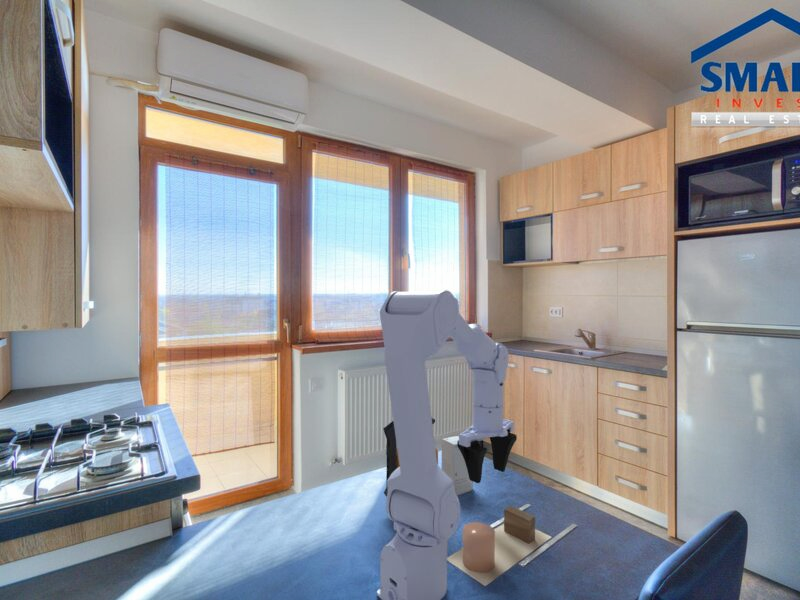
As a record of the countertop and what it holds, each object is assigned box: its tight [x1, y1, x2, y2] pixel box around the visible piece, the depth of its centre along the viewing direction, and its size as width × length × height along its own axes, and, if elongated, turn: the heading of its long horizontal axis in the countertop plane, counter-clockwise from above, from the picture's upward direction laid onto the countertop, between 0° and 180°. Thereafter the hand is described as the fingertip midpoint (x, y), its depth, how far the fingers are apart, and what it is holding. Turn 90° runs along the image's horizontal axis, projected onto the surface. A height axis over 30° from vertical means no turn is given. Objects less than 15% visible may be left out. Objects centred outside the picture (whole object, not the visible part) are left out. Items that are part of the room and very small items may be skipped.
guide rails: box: [489, 503, 578, 568], centre depth 72 cm, size 18×10×1 cm, turn 130°
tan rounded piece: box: [462, 521, 495, 573], centre depth 63 cm, size 5×5×5 cm
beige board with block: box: [447, 505, 553, 587], centre depth 67 cm, size 19×8×5 cm, turn 130°
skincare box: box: [441, 435, 474, 496], centre depth 88 cm, size 6×4×12 cm
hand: (487, 475), depth 76 cm, fingers open, 7 cm apart
